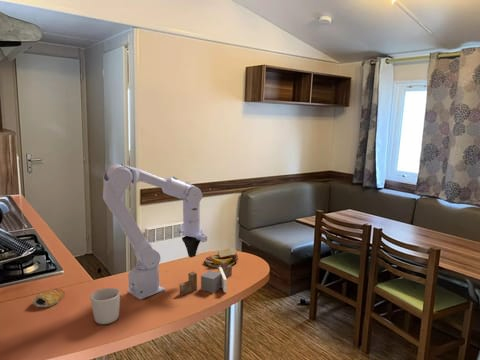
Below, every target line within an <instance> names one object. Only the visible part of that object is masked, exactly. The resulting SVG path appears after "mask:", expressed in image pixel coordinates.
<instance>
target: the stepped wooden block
mask: <svg viewBox="0 0 480 360" xmlns="http://www.w3.org/2000/svg"><path fill="white" fill-rule="evenodd" d="M220 265H221V267H222V269H223V272H224V274H225V276H226V279H228V277H231V276H232V275H233V265H231V266H230V265H229V266H228V262H227V261H224V260H223V261H221V262H220ZM197 274H198V273H197V272H195V271H191V272H188V277H187V278H188V280H186V281H183V282H182V283H180V284H179V295H180V296H184V295H186V294H188V293H189V294H190V293H191V292H192V293H193V292H196V291H198V275H197Z"/></svg>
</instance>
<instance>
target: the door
mask: <svg viewBox="0 0 480 360" xmlns="http://www.w3.org/2000/svg"><path fill="white" fill-rule="evenodd" d="M218 273H221V288H222V291H223V293H228V285H227V284H228V278H226V276H225V274H224V272H223V269H222V267H221V265H219V268H218Z"/></svg>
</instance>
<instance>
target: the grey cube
mask: <svg viewBox="0 0 480 360" xmlns="http://www.w3.org/2000/svg"><path fill="white" fill-rule="evenodd" d="M221 288H222V286H221V273H219V272H216V271H212V270H208V271H206V272H205V273H203V274H202V275H200V290H202V291H205V292H209V293H211V294H214V293H216V292H217V291H218V290H219V289H221Z"/></svg>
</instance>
